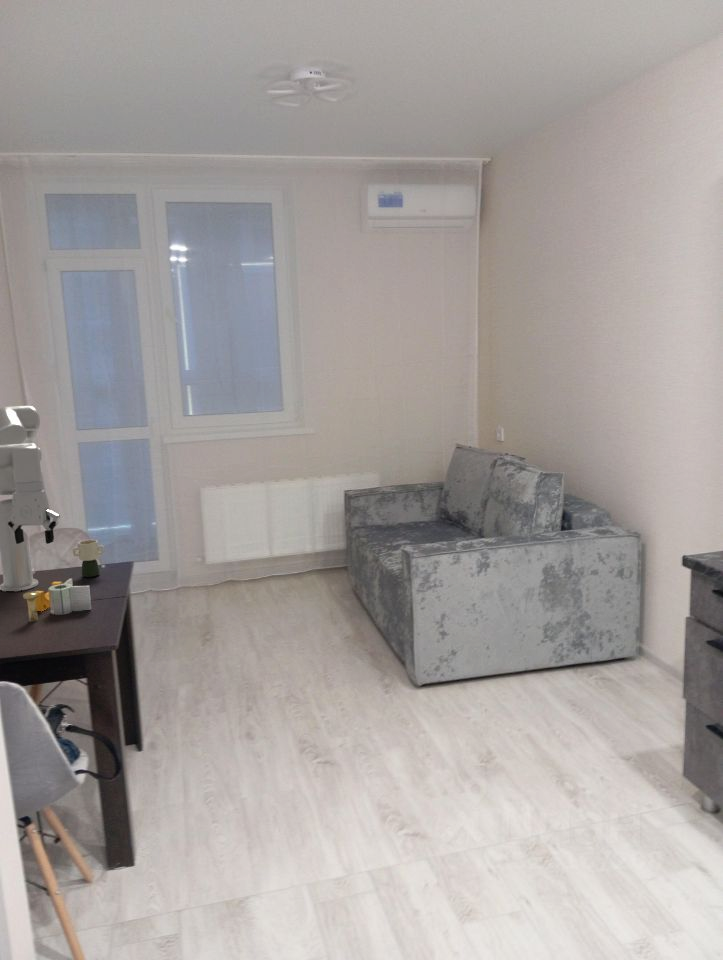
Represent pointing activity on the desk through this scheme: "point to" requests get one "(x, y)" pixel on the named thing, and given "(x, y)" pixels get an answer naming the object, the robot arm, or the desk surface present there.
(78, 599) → the hinge
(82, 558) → the character mug
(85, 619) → the desk surface
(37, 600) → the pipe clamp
